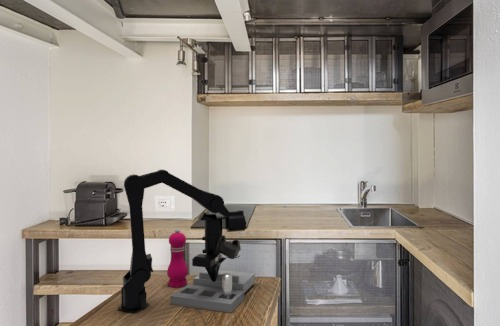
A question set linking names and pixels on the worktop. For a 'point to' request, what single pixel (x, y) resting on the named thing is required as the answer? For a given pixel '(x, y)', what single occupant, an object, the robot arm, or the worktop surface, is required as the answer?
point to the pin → (227, 286)
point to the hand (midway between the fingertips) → (214, 281)
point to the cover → (238, 280)
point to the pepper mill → (177, 260)
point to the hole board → (206, 298)
